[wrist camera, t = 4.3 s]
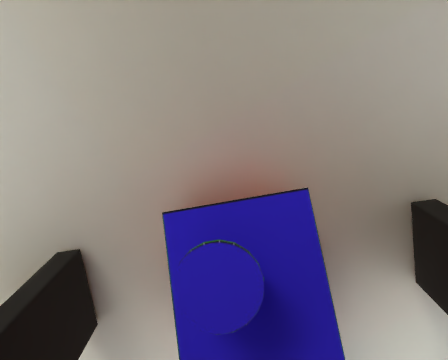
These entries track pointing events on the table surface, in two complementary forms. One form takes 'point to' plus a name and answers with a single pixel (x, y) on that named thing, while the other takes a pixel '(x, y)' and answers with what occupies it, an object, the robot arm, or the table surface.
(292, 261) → the toy building block
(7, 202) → the table surface
